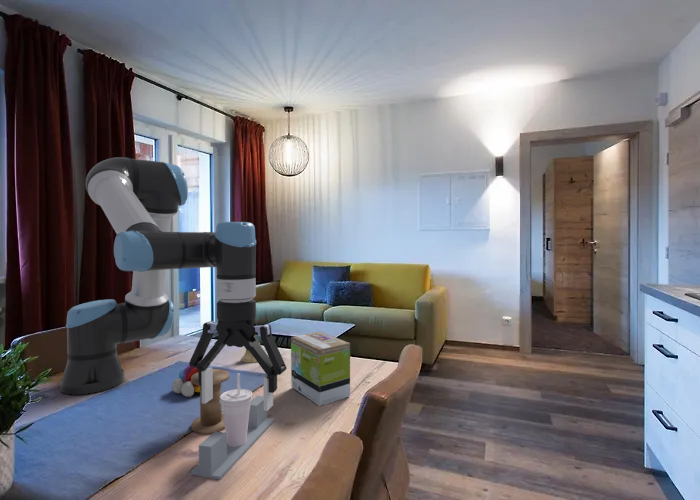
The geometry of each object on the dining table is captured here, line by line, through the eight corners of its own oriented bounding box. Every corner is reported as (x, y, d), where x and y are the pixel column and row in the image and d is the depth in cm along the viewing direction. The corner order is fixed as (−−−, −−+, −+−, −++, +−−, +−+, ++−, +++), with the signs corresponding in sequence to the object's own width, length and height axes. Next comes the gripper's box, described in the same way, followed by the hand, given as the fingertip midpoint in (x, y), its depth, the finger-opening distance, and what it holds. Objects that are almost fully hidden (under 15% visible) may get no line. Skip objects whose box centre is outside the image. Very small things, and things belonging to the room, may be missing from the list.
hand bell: (244, 364, 128) (244, 316, 127) (238, 357, 135) (237, 312, 135) (269, 360, 132) (268, 313, 131) (261, 354, 139) (261, 309, 139)
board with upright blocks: (190, 474, 69) (189, 444, 68) (250, 418, 90) (250, 394, 90) (220, 479, 67) (220, 448, 67) (274, 421, 89) (274, 397, 88)
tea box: (289, 388, 108) (289, 335, 107) (320, 380, 114) (320, 330, 113) (319, 407, 96) (319, 348, 95) (351, 397, 102) (351, 341, 101)
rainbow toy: (190, 401, 100) (189, 373, 99) (167, 393, 105) (167, 366, 104) (217, 390, 107) (217, 364, 107) (194, 383, 112) (194, 358, 112)
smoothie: (244, 452, 75) (243, 380, 74) (213, 448, 76) (212, 378, 76) (258, 435, 81) (257, 369, 81) (230, 432, 82) (229, 367, 82)
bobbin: (183, 431, 84) (183, 380, 83) (205, 414, 92) (205, 367, 91) (216, 435, 82) (216, 383, 82) (236, 418, 90) (236, 370, 89)
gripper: (169, 299, 77) (171, 405, 78) (287, 305, 71) (287, 419, 72) (193, 294, 84) (194, 391, 85) (302, 298, 78) (302, 402, 79)
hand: (237, 404), depth 78 cm, fingers open, 13 cm apart
